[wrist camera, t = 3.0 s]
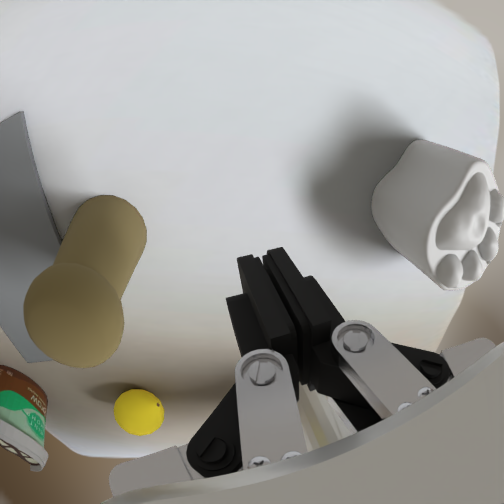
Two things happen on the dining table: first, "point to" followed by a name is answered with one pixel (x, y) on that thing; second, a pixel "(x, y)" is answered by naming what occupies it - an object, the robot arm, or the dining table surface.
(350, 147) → the dining table surface
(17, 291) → the mat
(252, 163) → the dining table surface
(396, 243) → the lumpy-topped squat cylinder
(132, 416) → the lemon
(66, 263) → the cork
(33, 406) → the food container
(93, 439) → the dining table surface
